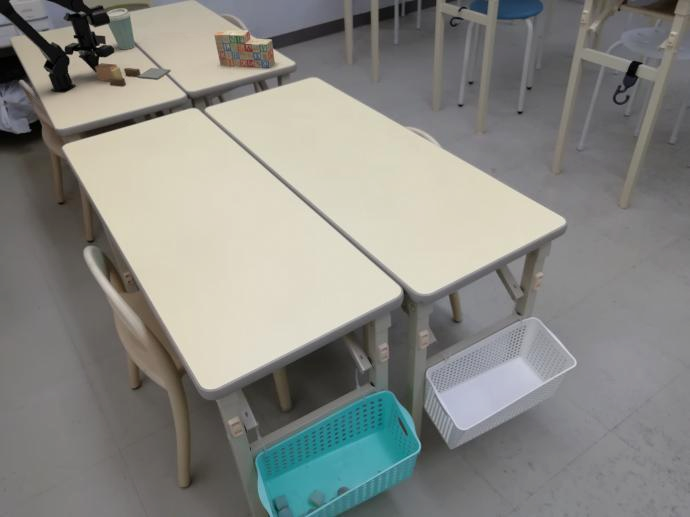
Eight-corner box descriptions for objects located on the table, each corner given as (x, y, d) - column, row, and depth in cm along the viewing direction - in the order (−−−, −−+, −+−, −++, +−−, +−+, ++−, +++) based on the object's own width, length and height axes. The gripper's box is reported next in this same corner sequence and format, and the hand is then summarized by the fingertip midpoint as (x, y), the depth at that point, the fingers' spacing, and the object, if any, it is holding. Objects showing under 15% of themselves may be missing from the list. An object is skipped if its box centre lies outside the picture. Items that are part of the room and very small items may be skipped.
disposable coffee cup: (131, 51, 232) (120, 15, 222) (109, 51, 233) (97, 14, 224) (143, 43, 239) (133, 7, 230) (121, 43, 241) (111, 7, 232)
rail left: (123, 86, 201) (121, 79, 200) (110, 84, 203) (108, 78, 201) (126, 84, 202) (124, 78, 201) (113, 83, 204) (110, 76, 202)
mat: (157, 79, 205) (157, 78, 204) (138, 77, 207) (137, 76, 207) (170, 71, 211) (170, 69, 211) (151, 69, 214) (151, 67, 213)
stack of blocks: (275, 63, 213) (271, 31, 205) (269, 68, 209) (265, 36, 201) (226, 60, 218) (220, 29, 210) (219, 66, 213) (213, 34, 206)
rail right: (138, 76, 208) (136, 70, 206) (125, 75, 210) (123, 69, 208) (140, 75, 209) (139, 68, 207) (128, 74, 211) (126, 67, 209)
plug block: (116, 81, 205) (112, 68, 202) (99, 79, 207) (94, 66, 204) (122, 77, 208) (118, 64, 205) (105, 75, 210) (101, 63, 207)
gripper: (116, 25, 201) (129, 66, 211) (76, 22, 206) (90, 63, 216) (98, 34, 193) (112, 77, 203) (56, 32, 198) (72, 73, 208)
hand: (97, 72), depth 208 cm, fingers closed
